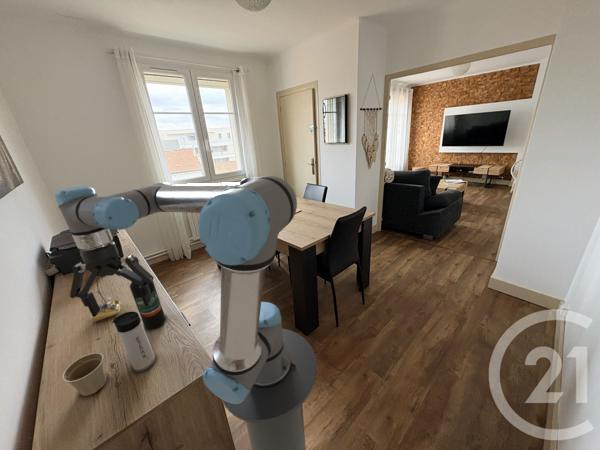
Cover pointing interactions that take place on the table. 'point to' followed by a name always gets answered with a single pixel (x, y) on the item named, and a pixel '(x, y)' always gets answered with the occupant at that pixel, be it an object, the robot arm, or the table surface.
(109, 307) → the cake
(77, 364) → the flower pot
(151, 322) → the wine bottle
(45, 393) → the table surface
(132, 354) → the travel mug
